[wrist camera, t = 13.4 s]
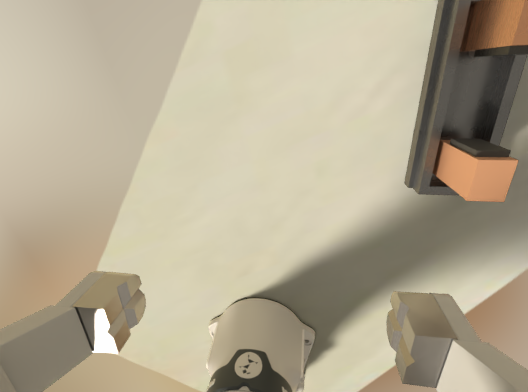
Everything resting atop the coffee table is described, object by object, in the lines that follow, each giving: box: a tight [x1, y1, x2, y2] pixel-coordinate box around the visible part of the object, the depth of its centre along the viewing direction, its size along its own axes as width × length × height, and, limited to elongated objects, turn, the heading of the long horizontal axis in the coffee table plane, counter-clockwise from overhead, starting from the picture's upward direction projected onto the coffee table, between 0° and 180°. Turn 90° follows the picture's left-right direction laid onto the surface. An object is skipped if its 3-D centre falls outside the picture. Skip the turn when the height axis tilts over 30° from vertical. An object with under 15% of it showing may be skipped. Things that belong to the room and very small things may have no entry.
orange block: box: [432, 139, 518, 202], centre depth 29 cm, size 5×3×8 cm
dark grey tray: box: [405, 0, 528, 195], centre depth 28 cm, size 20×8×10 cm, turn 2°
